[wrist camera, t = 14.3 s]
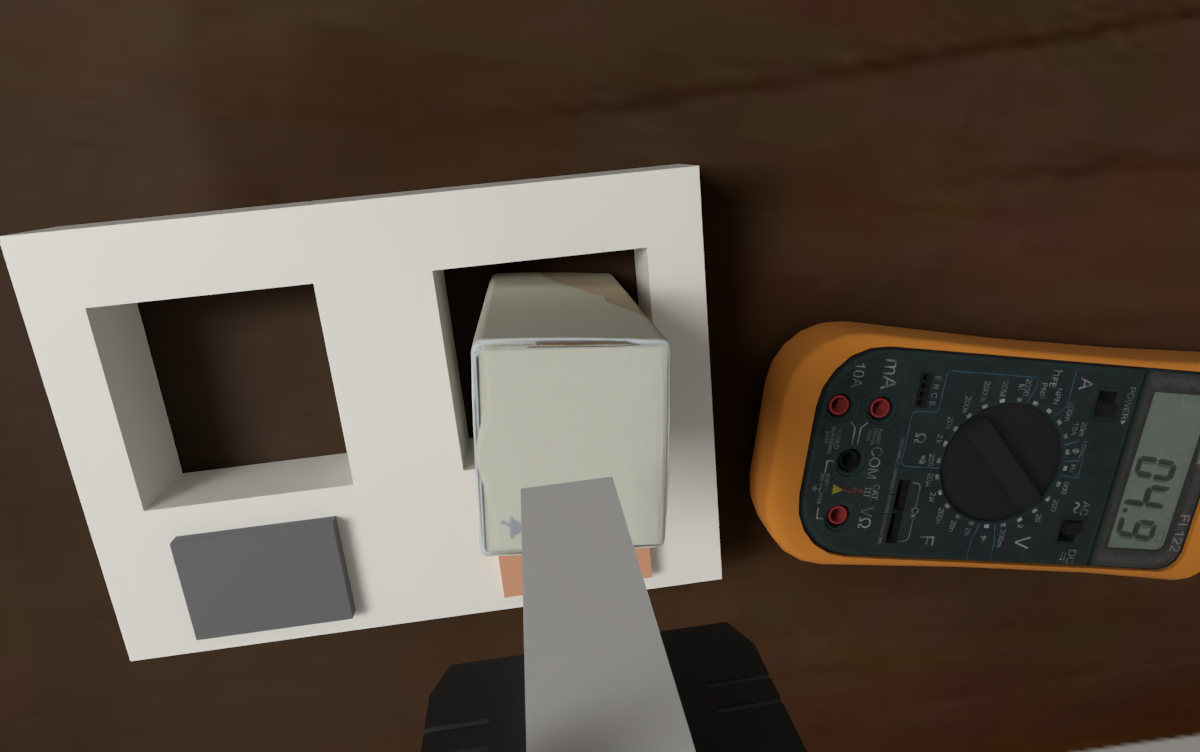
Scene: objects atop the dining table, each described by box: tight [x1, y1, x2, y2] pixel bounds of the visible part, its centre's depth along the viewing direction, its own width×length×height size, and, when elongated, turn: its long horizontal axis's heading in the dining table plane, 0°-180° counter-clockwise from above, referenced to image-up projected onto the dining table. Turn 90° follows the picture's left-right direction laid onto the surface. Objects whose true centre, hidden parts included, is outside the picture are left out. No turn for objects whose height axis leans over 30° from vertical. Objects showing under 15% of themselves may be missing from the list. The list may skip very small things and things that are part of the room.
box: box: [471, 272, 671, 557], centre depth 22 cm, size 5×4×11 cm
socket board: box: [0, 164, 722, 661], centre depth 26 cm, size 20×14×4 cm
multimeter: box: [750, 321, 1200, 580], centre depth 29 cm, size 9×18×3 cm, turn 84°
